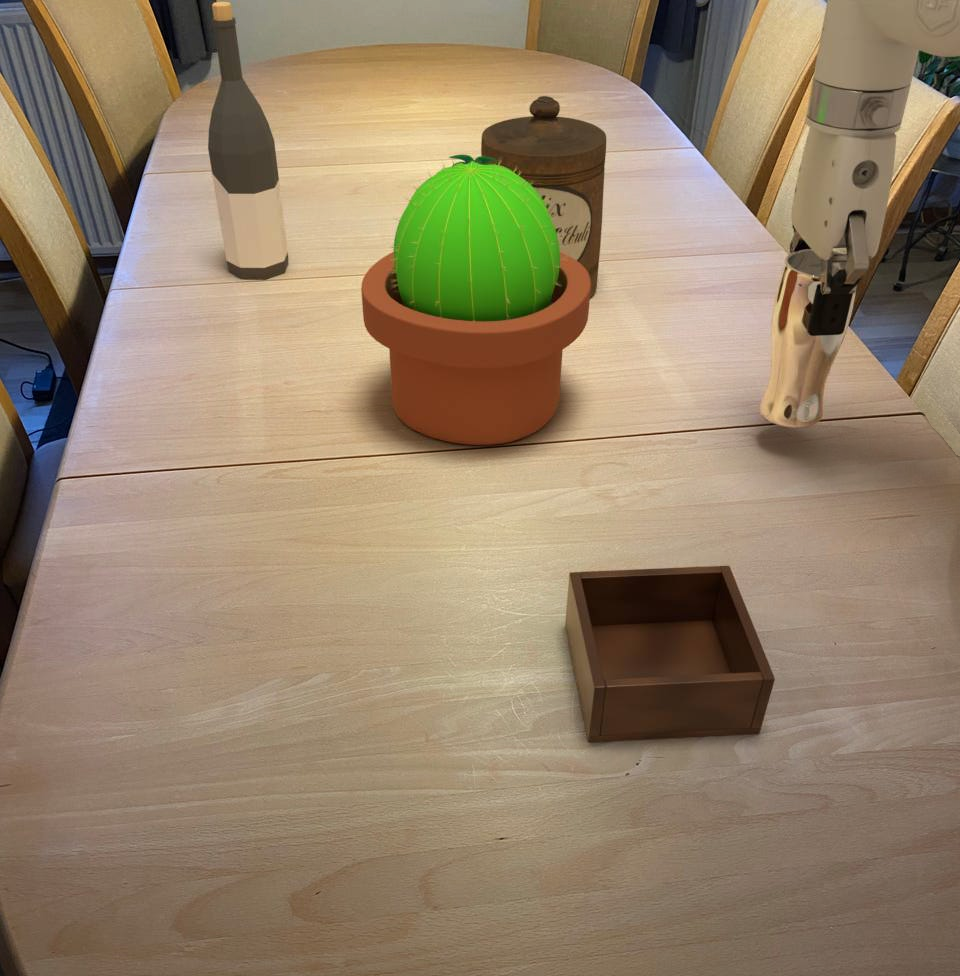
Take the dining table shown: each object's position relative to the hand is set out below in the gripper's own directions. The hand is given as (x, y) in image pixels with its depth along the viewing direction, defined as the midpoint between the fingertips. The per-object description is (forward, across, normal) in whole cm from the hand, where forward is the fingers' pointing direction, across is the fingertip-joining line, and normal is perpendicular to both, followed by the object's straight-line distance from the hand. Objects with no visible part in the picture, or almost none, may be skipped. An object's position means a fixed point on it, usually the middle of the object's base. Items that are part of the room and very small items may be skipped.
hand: (811, 313), depth 95 cm
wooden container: (+13, +39, +20) cm, 46 cm away
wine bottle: (+12, +47, +56) cm, 74 cm away
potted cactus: (+13, +10, +30) cm, 35 cm away
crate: (+14, -32, +20) cm, 40 cm away
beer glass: (+10, 0, 0) cm, 10 cm away
